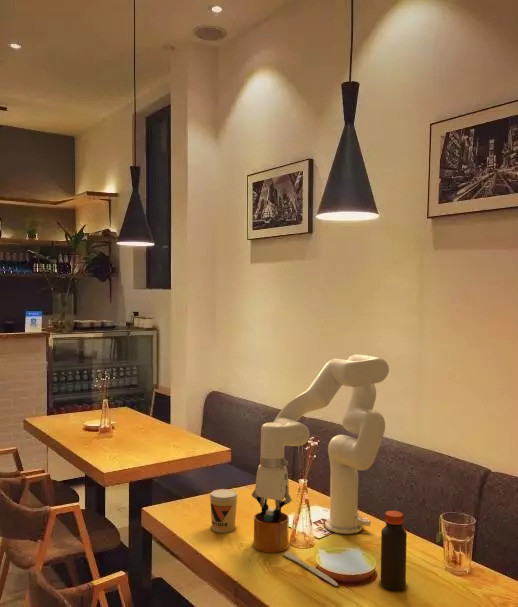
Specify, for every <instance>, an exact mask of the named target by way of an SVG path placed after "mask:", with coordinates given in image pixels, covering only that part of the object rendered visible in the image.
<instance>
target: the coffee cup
mask: <svg viewBox="0 0 518 607" xmlns="http://www.w3.org/2000/svg"><path fill="white" fill-rule="evenodd" d="M209 499H210V517H211V518H210V519H211V520H210V521H211V529H212V531H213V532H215V533H221V534H223V533H225V534H226V533H230V532H233V531H234V530H235V527H236V516H237V506H238V505H237V504H238V493H237V491H235V490H234V489H228V488H219V489H215V490H212V491H211V493H210V495H209Z"/></svg>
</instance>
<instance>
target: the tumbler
mask: <svg viewBox="0 0 518 607" xmlns="http://www.w3.org/2000/svg"><path fill="white" fill-rule="evenodd" d="M261 513H262V511H259V512H257V513H255V514H254V516H253V547H254V548H255V549H256V550H258V551H260V552H263V553H279V552H283V551H285V550H287V549H288V548H289V538H290V537H289V536H290V535H289V533H290V532H289V531H290V530H289V528H290V526H289V525H290V516H289V515H288V514H287V513H285V512H282V511H281V518H280V519H279V520H278V521H277V522H274V523H272V522H269V521H263V520H262V515H261Z"/></svg>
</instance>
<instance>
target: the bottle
mask: <svg viewBox="0 0 518 607" xmlns="http://www.w3.org/2000/svg"><path fill="white" fill-rule="evenodd" d="M384 523H385V526H384V527H383V528H382V529H381V533H380V534H381V535H380V537H381V538H380V580H379V581H380V585H381V587H382V588H384V589H385V590H387V591H391V592H392V591H393V592H398V591H399V592H400V591H402V590H404V589H405V588H406V585H407V582H406V581H407V539H408V538H407V531H406V530H405V528H403V525H404V513H403V512H401V511H398V510H387V511H385V513H384Z"/></svg>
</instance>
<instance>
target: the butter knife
mask: <svg viewBox="0 0 518 607" xmlns="http://www.w3.org/2000/svg"><path fill="white" fill-rule="evenodd" d="M283 556H284V557H286V558H287V559H289V560H291V561H292V562H295V563H296V564H298V565H301V566H302V567H303V568H305V569H307V570H309V571H310V572H311V573H313V574H315V575H317V576H318V577H320V578H322V579H323V580H325V581H326V582H328V583H330V584H331V585H333V586H335V587H337V586H339V584H338V582H337V581H336V580H334V579H333V578H332V577H330V576H329V575H328V574H326V573H324V572H322V571H321V570H319V569H318V568H316V567H313V566H310V565H308V564H307V563H305V562H304V561H302V560H301V559H300V558H299V557H297V556H296V555H295V554H294V553H292V552H289V551H288V552H285V553H284V554H283Z"/></svg>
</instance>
